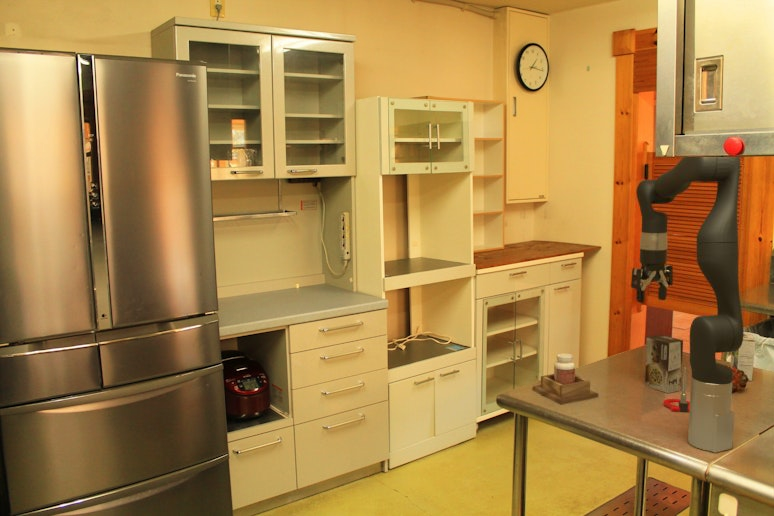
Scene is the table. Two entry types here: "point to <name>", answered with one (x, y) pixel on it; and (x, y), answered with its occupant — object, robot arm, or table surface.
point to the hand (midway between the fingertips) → (651, 301)
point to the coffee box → (664, 363)
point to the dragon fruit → (738, 379)
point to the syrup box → (744, 356)
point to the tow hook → (683, 403)
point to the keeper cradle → (565, 390)
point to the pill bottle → (564, 369)
